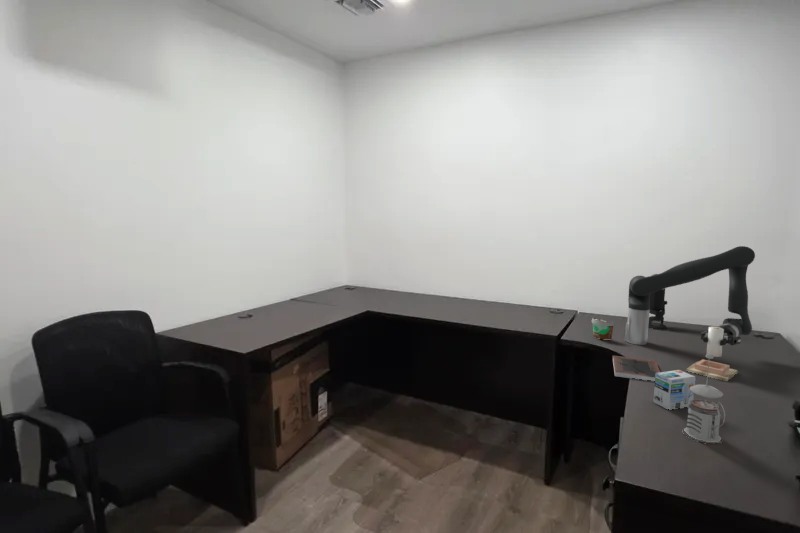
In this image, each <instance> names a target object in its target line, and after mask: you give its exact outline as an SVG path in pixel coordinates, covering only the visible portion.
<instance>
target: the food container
mask: <svg viewBox="0 0 800 533" xmlns="http://www.w3.org/2000/svg"><path fill="white" fill-rule="evenodd" d="M591 323H592V332H593V334H592V337H593V336H594V337H596V338H600V339H611V340H612V339H613V338H612V336H613V332H614V331H613V330H614V327H615V326H616V324H615V321H608V320H605V319H600V318H597V317H596V316H593V317H592V319H591ZM594 337H593V338H594Z"/></svg>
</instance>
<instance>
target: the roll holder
mask: <svg viewBox="0 0 800 533" xmlns="http://www.w3.org/2000/svg"><path fill="white" fill-rule="evenodd" d="M708 361H709V359H703V358H702V359H701V360H697V361H695V363H693V364H691V365H690V366H688V367H687V368H686V369H685V372H686V371H688V372H687V373H690V372H692V373H691V374H694V373H696V374H695V375H698V374H699V376H702V375H703V377H706V376H707V371H708ZM738 372H739V371H738V370H737V369H734V368H730V365H729V364H726V363H722V362H716V361H712V360H710V361H709V371H708V378H710V377H711V378H710V379H714V378H715V380H718V379H719V381H722V380H723V381H722V382H726V381H727V382H729V381H730V380H732V378H733V377H734V375H735V374H736V375H737V374H738ZM736 375H735V376H736ZM729 379H730V380H729ZM728 380H729V381H728Z"/></svg>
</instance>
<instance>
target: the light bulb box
mask: <svg viewBox="0 0 800 533" xmlns="http://www.w3.org/2000/svg"><path fill="white" fill-rule="evenodd" d="M694 385H696V376H695V375H692V374H691V373H689V372H686V371H682V370H681V369H676V370H675V369H674V370H668V371H660V372H659V373H656V376H655V382H654V388H653V389H654V390H653V391H654V392H653V403H654V404H656V405H657V406H659V407H662V408H664V409H665V410H668V409H669V410H668V411H673V410H672V409H674V410H678V408H680V409H685V408H684V407H687V408H689V405H690V404H691V402H690V401H691V400H694V397H695V396H694V395H695V394H694V393H692V392H691V391H690V387H691V386H694Z"/></svg>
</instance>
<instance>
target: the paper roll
mask: <svg viewBox="0 0 800 533" xmlns="http://www.w3.org/2000/svg"><path fill="white" fill-rule="evenodd" d="M707 329H708V332H707V333H708V342H706V343H707V345H706V355H707V354H712V355H713V357H715V358H716V357H717V358H718V357H722V355H723V346H721V345H720V341H721V340H722V339H723V333H724V329H723V328H720V327H718V326H708V328H707Z"/></svg>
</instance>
